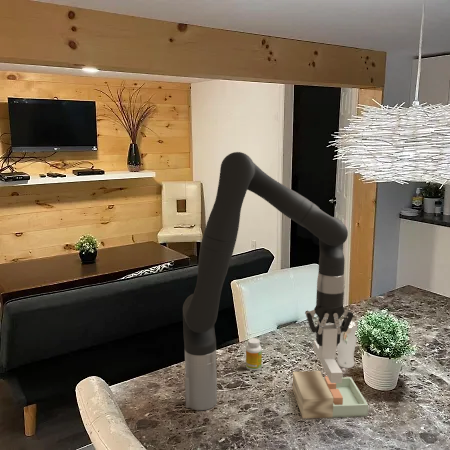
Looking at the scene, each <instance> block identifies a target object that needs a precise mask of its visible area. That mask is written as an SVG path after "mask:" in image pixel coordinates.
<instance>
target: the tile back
mask: <svg viewBox="0 0 450 450" xmlns="http://www.w3.org/2000/svg"><path fill="white" fill-rule="evenodd" d="M324 378H325V382H326V384H327V386H328V388H329V390H330V389H336V383H331V382H330V380H329V378H328V376H327V375H325V376H324Z"/></svg>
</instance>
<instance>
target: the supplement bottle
mask: <svg viewBox="0 0 450 450" xmlns="http://www.w3.org/2000/svg"><path fill="white" fill-rule="evenodd" d="M260 342H261V340H260V339H259V338H256V337H255V338H254V337H251V338H249V339H248V340H247V345H246V348H245V366H246V369H248V370H250V371H258V370H260V369H261V368H262V367H263V366H262V363H263V362H262V359H263V357H262V356H263V355H262V354H263V353H262V352H263V351H262V349H263V348H262V346H261V345H260V344H261V343H260Z"/></svg>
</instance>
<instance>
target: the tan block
mask: <svg viewBox="0 0 450 450" xmlns="http://www.w3.org/2000/svg"><path fill="white" fill-rule="evenodd" d="M324 378H325V377H324V376H323V374H322V372H321V370H313V371H312V370H309V371H307V370H306V371H293V372H292V389H291V390H292V392H293V394H294V398H295V402H296V403H297V405H298V408H299V411H300V412H299V413H300V415H301V417H302V419H303V420H304V419H320V418H321V419H322V418H323V419H326V418H327V419H328V418H330V419H331V418H334V417H333V396H332V394H331V392H330V390H329V388H328V386H327V384H326V382H325V380H324Z"/></svg>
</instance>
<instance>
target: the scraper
mask: <svg viewBox="0 0 450 450" xmlns="http://www.w3.org/2000/svg"><path fill="white" fill-rule="evenodd" d="M313 351H314V353H315V355H316V356H317V359H318V360H319V362H320V364H321V366H322V368H323V370H324V372H325V374H326V376H328V378H329V380H330V382H331V383H342V377H343V373H344V372H343V371H342V369H341V367H340V366H338V364H337V362H336V361H337V328H335V325H333V323H326V324H325V327H324V328H323V331H322V346H319V344H317V342H316V339H314V340H313Z"/></svg>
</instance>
